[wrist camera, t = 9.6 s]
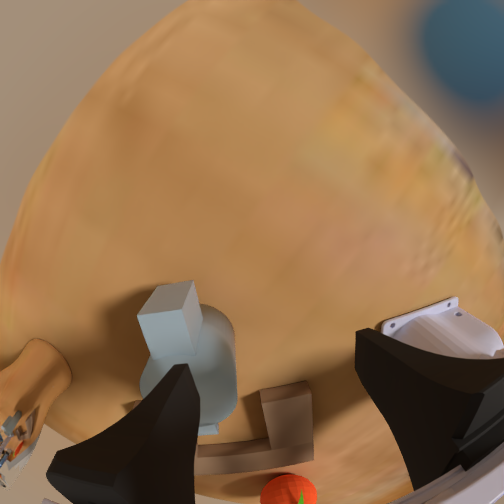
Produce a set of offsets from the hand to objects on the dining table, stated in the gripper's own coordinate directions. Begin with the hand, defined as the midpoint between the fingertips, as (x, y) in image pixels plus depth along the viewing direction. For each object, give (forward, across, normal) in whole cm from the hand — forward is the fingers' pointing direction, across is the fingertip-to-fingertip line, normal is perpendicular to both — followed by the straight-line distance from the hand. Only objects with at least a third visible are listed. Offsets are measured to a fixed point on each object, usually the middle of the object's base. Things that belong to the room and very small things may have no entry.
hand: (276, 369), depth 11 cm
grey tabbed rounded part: (+10, +5, +3) cm, 11 cm away
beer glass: (+10, +22, +5) cm, 25 cm away
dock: (+9, +5, +15) cm, 18 cm away
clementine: (+10, 0, +27) cm, 28 cm away
